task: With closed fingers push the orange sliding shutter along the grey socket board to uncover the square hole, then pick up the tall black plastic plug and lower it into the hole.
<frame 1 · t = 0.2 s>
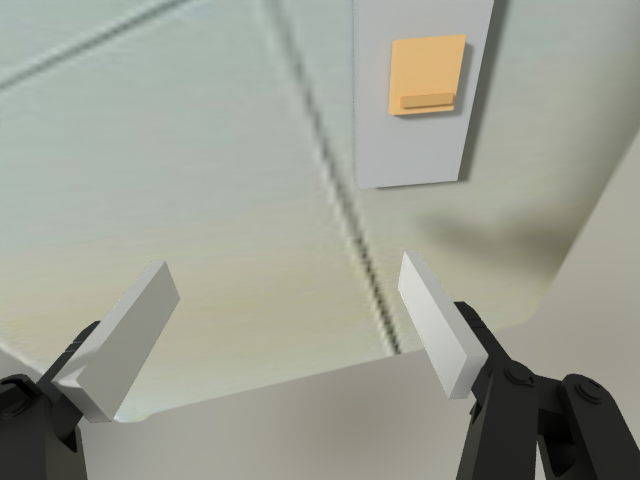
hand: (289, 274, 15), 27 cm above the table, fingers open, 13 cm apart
shutter: (425, 77, 29), point 6 cm above the table, slide at 0.0 cm
socket board: (407, 77, 34), on the table
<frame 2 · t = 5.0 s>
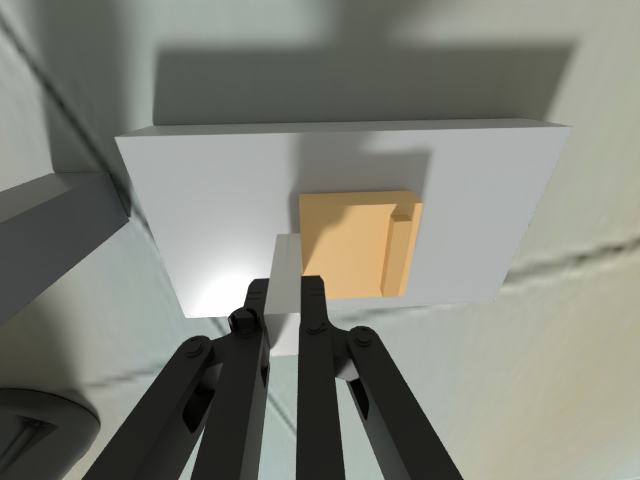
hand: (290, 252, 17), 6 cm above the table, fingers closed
shutter: (356, 251, 17), point 6 cm above the table, slide at 0.4 cm, touching gripper
socket board: (340, 213, 22), on the table
plug: (92, 198, 20), on the table
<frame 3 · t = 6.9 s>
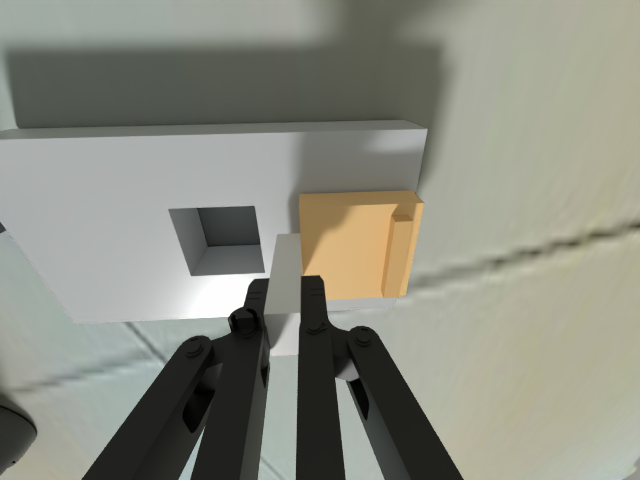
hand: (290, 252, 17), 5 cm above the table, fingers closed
shutter: (356, 251, 17), point 6 cm above the table, slide at 9.1 cm, touching gripper
socket board: (233, 217, 21), on the table
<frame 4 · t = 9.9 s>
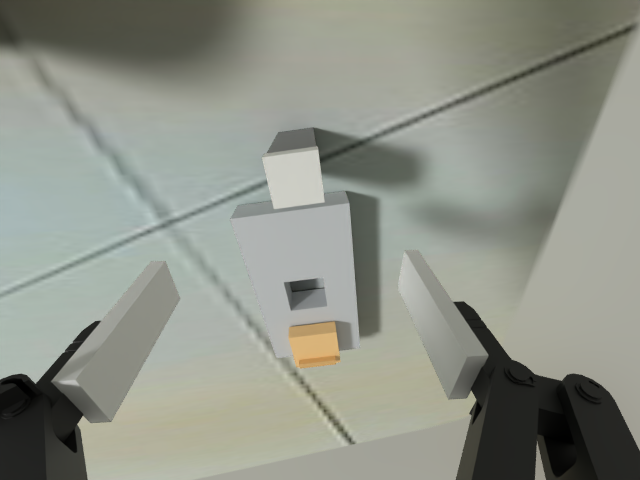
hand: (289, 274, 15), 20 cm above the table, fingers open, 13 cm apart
shutter: (315, 347, 40), point 6 cm above the table, slide at 9.2 cm
socket board: (306, 276, 41), on the table
plug: (298, 148, 31), on the table
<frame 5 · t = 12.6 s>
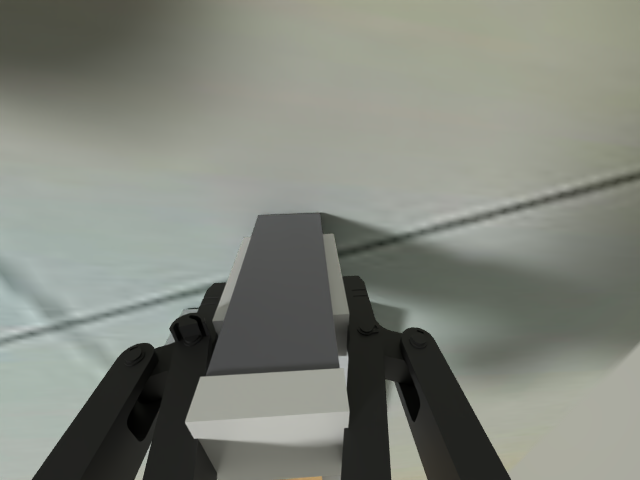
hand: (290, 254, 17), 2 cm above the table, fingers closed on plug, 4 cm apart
socket board: (285, 394, 28), on the table
plug: (291, 240, 18), on the table, touching gripper
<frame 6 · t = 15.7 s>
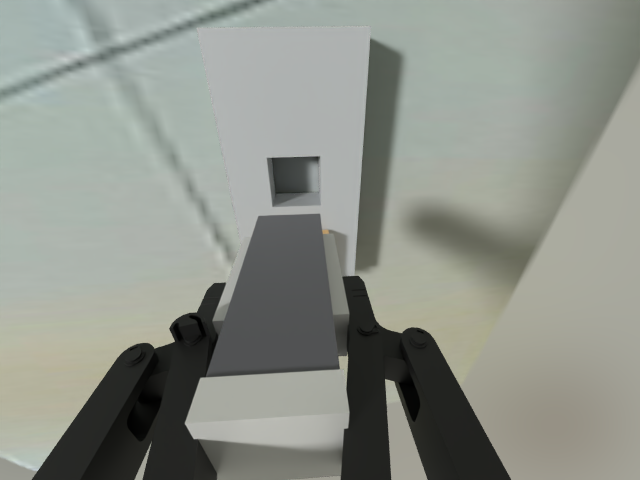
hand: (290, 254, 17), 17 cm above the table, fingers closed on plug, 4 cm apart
shutter: (299, 262, 31), point 6 cm above the table, slide at 9.2 cm
socket board: (296, 171, 31), on the table
plug: (291, 240, 18), point 16 cm above the table, touching gripper
when the fingers open (5 cm above the table, at t = 18.6 s): plug drops 3 cm, resting in socket board.
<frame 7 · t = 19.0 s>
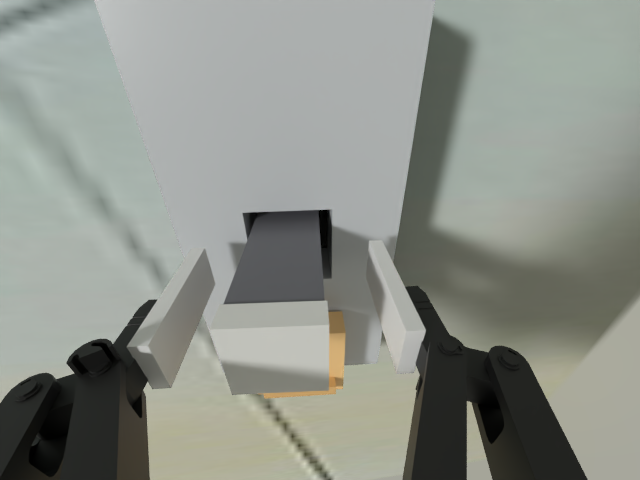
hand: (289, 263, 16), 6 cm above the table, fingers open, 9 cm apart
shutter: (298, 358, 21), point 6 cm above the table, slide at 9.2 cm
socket board: (292, 220, 21), on the table
plug: (292, 220, 21), resting in socket board
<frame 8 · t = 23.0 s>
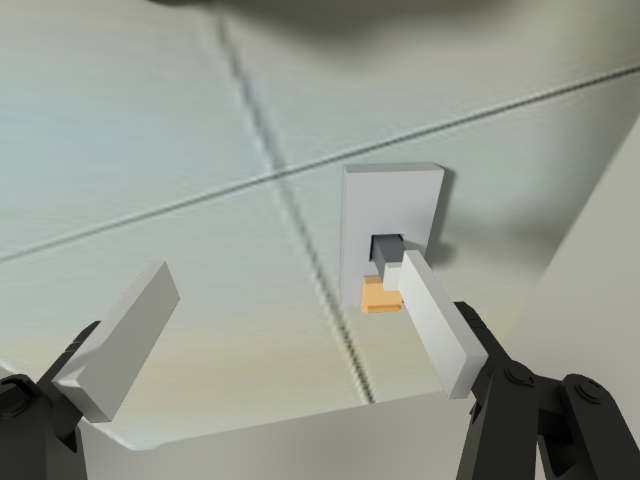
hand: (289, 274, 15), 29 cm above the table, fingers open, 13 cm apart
shutter: (382, 295, 48), point 6 cm above the table, slide at 9.2 cm
socket board: (380, 236, 48), on the table
plug: (379, 235, 48), resting in socket board
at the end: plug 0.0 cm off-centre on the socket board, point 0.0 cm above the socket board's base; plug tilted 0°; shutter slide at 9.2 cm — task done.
